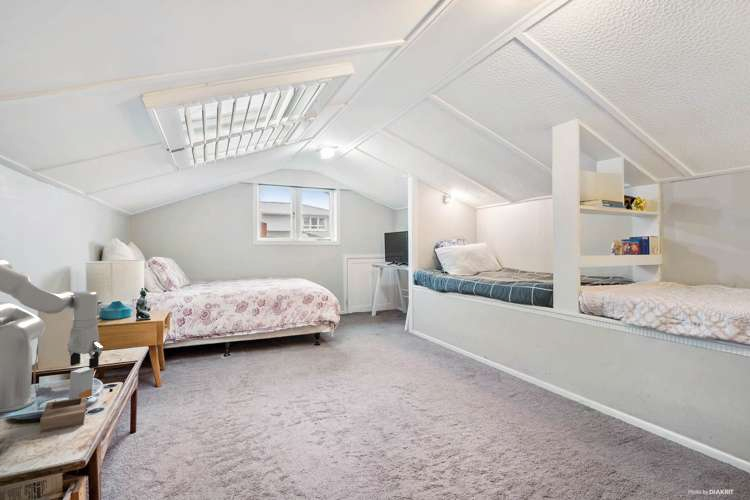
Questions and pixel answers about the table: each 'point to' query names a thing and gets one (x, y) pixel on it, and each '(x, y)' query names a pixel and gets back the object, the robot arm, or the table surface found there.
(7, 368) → the robot arm
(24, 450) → the table surface
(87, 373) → the skincare box
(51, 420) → the walnut stand
